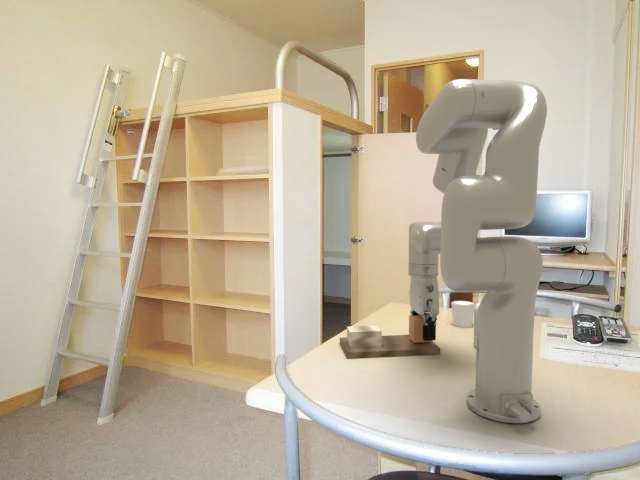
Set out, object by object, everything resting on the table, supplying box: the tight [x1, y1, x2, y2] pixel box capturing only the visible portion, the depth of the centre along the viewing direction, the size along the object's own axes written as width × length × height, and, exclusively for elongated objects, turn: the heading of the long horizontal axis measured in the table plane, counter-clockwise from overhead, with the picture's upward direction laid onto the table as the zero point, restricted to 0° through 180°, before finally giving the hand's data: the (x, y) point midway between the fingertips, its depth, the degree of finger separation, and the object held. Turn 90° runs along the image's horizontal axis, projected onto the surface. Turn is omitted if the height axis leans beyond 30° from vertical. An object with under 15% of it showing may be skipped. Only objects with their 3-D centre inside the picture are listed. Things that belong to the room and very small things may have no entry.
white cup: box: [450, 300, 476, 329], centre depth 136 cm, size 7×7×7 cm
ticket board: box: [339, 324, 441, 360], centre depth 115 cm, size 24×12×6 cm, turn 96°
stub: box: [408, 315, 434, 343], centre depth 115 cm, size 5×4×6 cm
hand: (422, 334), depth 116 cm, fingers open, 9 cm apart
